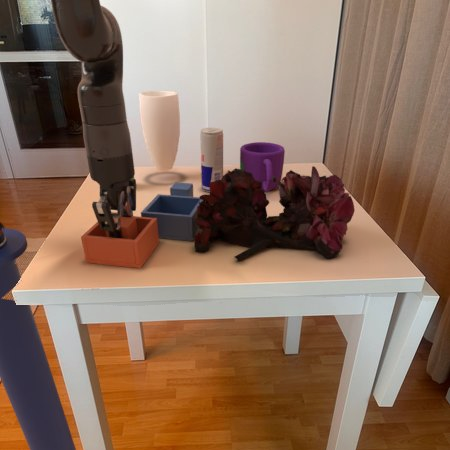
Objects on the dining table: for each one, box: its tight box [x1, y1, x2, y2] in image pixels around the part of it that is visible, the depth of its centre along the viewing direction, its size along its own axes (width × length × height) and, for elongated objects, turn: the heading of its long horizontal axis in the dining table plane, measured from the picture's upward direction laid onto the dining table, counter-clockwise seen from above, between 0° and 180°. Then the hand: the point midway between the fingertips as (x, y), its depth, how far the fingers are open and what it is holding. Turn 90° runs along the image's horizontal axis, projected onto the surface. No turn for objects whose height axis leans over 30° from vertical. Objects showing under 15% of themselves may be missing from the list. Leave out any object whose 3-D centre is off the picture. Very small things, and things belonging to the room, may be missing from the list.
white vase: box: [138, 90, 181, 171], centre depth 111 cm, size 10×10×22 cm
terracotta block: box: [105, 217, 138, 240], centre depth 79 cm, size 4×4×4 cm
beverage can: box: [199, 127, 224, 193], centre depth 106 cm, size 6×6×15 cm
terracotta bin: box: [80, 215, 160, 269], centre depth 80 cm, size 11×11×5 cm
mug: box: [239, 141, 286, 193], centre depth 107 cm, size 17×11×10 cm, turn 6°
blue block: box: [169, 181, 194, 197], centre depth 101 cm, size 4×4×4 cm
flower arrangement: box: [194, 165, 356, 262], centre depth 82 cm, size 31×20×15 cm, turn 91°
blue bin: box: [140, 193, 203, 242], centre depth 89 cm, size 11×11×5 cm
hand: (122, 241), depth 80 cm, fingers closed on terracotta block, 4 cm apart
